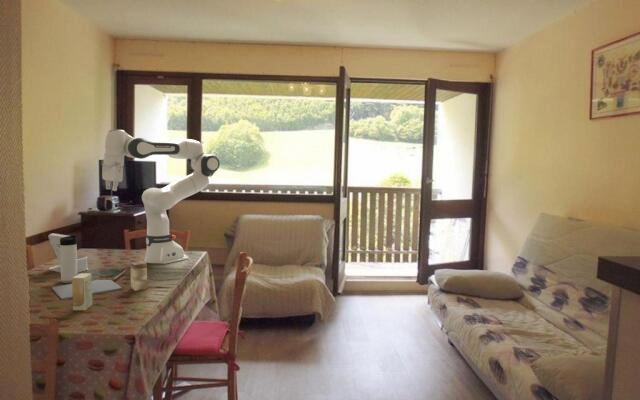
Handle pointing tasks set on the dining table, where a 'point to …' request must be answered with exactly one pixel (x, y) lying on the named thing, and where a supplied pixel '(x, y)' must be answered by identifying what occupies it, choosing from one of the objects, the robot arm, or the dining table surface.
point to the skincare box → (82, 291)
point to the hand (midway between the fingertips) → (111, 190)
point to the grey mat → (97, 287)
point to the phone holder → (54, 241)
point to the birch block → (138, 275)
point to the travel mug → (68, 258)
